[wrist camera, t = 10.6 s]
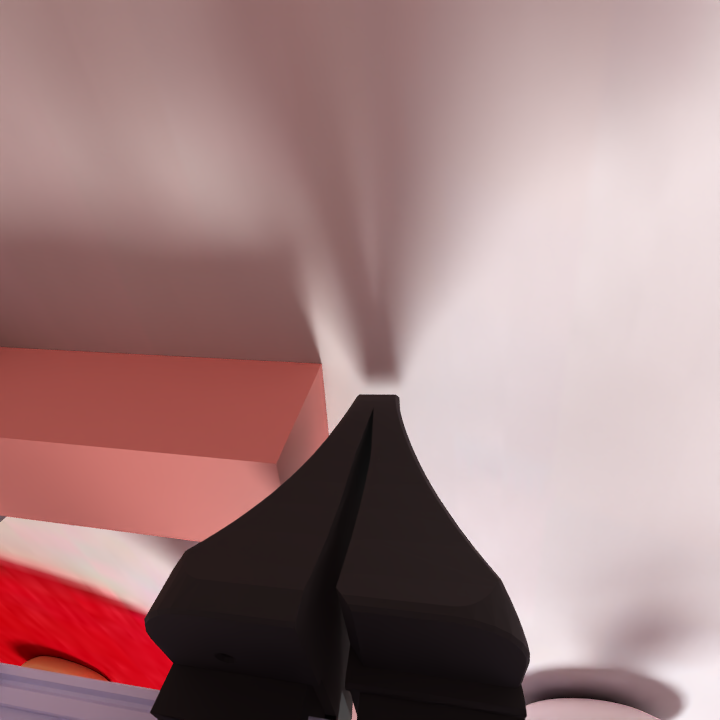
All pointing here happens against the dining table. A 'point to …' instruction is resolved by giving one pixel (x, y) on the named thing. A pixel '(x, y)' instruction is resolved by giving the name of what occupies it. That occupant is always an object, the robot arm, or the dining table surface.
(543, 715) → the flower in vase
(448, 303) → the dining table surface
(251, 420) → the pink long block
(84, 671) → the doughnut
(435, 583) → the robot arm
